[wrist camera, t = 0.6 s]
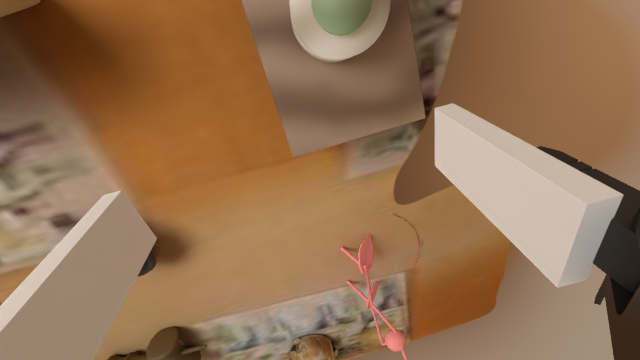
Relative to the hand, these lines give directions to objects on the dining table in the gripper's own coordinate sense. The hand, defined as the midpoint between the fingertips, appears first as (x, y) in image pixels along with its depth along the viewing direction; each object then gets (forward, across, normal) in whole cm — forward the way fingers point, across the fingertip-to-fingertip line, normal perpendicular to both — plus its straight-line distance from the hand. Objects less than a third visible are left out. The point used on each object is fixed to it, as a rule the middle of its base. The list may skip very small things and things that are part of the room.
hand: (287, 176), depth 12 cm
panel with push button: (+20, +6, +4) cm, 21 cm away
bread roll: (+25, -10, -58) cm, 64 cm away
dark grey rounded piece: (+25, -38, -44) cm, 63 cm away
